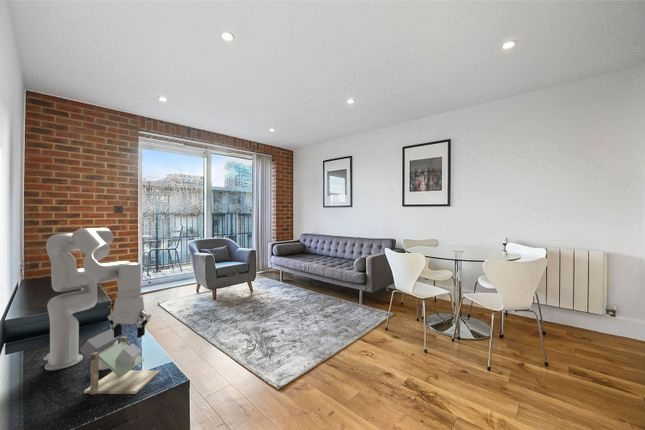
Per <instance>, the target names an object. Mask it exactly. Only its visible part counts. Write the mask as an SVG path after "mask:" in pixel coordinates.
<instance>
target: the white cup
mask: <svg viewBox="0 0 645 430" xmlns="http://www.w3.org/2000/svg"><path fill="white" fill-rule="evenodd" d="M117 344H119V341H118V340H117V341H116V342H115V343H114V344H113V346H111V347H109V348H107V349H106V350H104V351H102V352H100V353H99V355H100V354H101V353H103V352H105V351H107V350H109V349H110V348H112V347H114V346H116V345H117ZM108 369H109V368H108V367H107V366H106V365H105V364H104V363H103V362H102V361H100V360H99V371H104V370H108Z"/></svg>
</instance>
